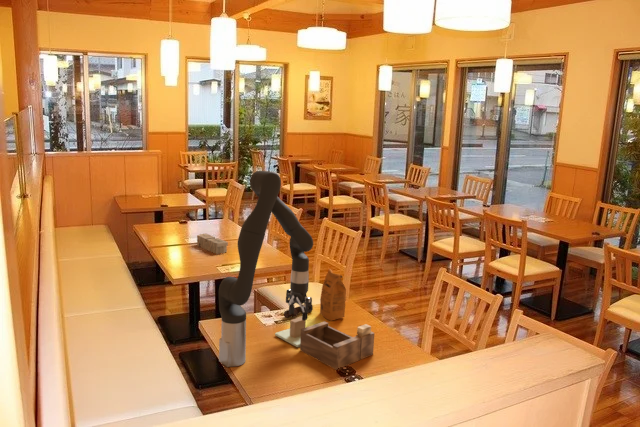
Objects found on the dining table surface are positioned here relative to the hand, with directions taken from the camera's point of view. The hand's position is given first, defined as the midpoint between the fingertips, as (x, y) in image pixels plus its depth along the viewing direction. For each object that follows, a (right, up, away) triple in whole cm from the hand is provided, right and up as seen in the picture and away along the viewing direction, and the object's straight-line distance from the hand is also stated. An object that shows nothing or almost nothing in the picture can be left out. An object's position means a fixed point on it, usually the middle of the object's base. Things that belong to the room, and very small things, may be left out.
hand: (297, 316), depth 230 cm
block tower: (-63, +19, +135) cm, 150 cm away
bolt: (-2, -5, +28) cm, 29 cm away
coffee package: (+15, -5, +28) cm, 32 cm away
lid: (0, -10, +2) cm, 10 cm away
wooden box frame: (+16, -13, -9) cm, 22 cm away
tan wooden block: (+27, -4, -13) cm, 30 cm away
